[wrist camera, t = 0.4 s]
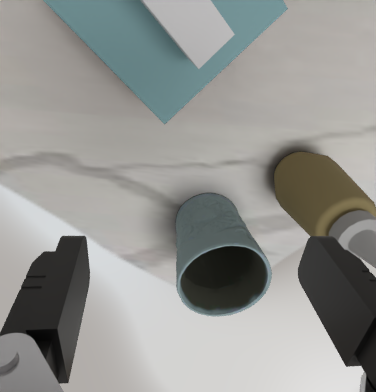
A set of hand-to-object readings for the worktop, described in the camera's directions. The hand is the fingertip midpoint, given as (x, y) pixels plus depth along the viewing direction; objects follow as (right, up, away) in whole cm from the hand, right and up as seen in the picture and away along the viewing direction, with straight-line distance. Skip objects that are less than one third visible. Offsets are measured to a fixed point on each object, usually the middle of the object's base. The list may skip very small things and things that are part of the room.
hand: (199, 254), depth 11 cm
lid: (-2, +17, +13) cm, 22 cm away
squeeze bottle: (+14, +5, +30) cm, 33 cm away
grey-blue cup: (+2, -1, +32) cm, 32 cm away
